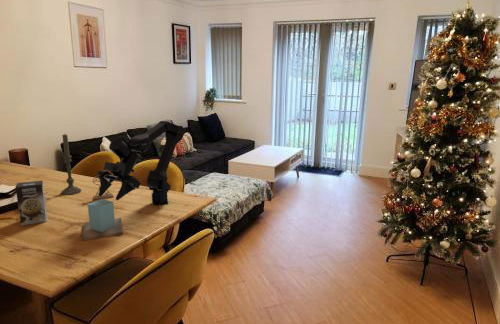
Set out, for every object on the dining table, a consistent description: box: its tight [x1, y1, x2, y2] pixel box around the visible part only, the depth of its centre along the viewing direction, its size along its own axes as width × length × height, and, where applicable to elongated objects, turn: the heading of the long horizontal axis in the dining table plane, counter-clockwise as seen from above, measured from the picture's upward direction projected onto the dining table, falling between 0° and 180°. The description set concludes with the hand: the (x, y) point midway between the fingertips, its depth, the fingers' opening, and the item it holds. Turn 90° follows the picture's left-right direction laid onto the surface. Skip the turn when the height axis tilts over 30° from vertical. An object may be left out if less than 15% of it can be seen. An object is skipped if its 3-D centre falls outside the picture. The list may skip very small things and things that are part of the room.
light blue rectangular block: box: [87, 199, 116, 232], centre depth 135 cm, size 6×6×10 cm
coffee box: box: [15, 180, 48, 226], centre depth 141 cm, size 9×6×16 cm
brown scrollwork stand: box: [92, 176, 114, 201], centre depth 169 cm, size 9×4×12 cm, turn 119°
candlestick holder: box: [61, 133, 82, 196], centre depth 174 cm, size 9×9×30 cm
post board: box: [81, 217, 124, 241], centre depth 136 cm, size 14×14×5 cm
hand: (107, 197), depth 136 cm, fingers open, 9 cm apart
